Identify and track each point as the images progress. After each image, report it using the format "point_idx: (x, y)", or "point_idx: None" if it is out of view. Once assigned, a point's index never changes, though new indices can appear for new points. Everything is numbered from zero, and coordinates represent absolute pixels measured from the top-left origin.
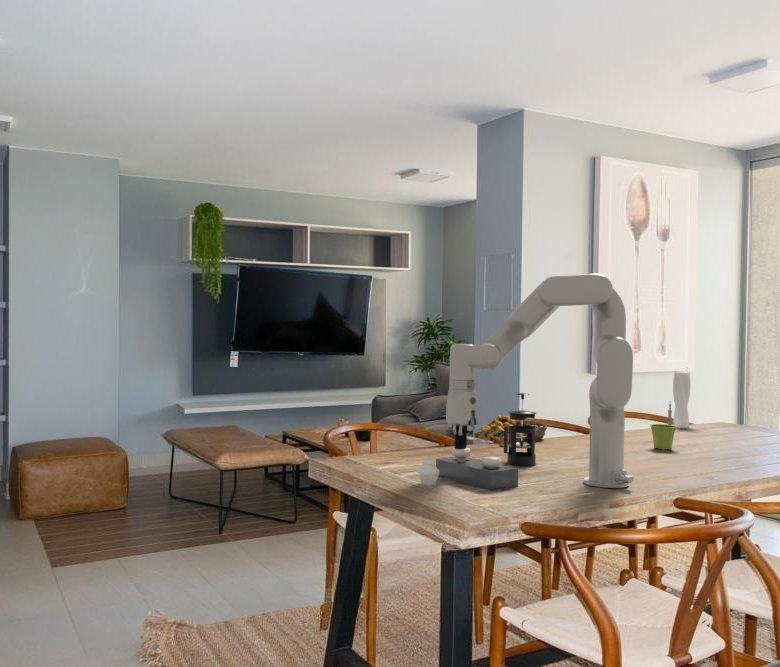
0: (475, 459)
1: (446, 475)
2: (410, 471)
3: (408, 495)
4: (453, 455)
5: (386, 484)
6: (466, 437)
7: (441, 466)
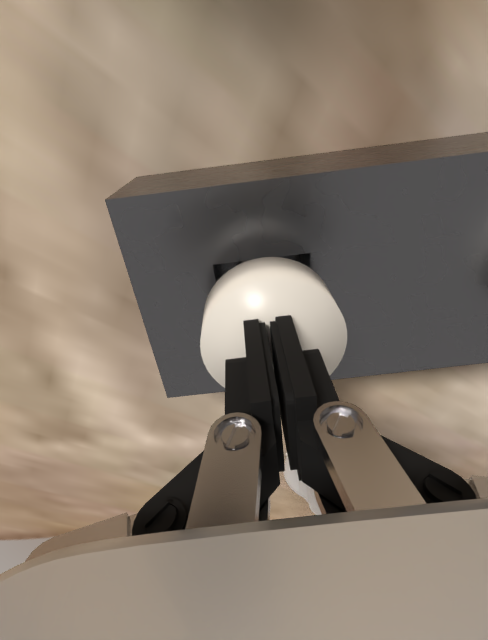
0: (291, 193)
1: None
2: (54, 384)
3: None
4: None
5: None
6: (308, 375)
7: None
